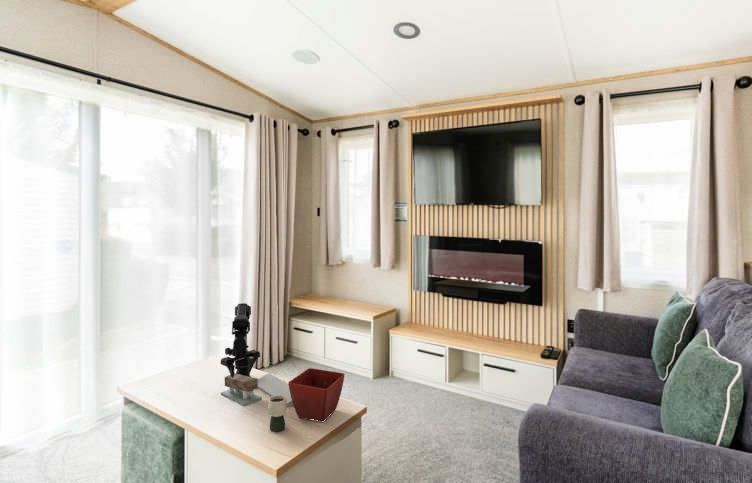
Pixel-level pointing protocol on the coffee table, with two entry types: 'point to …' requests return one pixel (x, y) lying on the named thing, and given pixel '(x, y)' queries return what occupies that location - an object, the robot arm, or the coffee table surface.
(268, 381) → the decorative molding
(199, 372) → the coffee table surface
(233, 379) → the walnut shelf board
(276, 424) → the character mug
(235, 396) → the peg base
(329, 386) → the plant pot
